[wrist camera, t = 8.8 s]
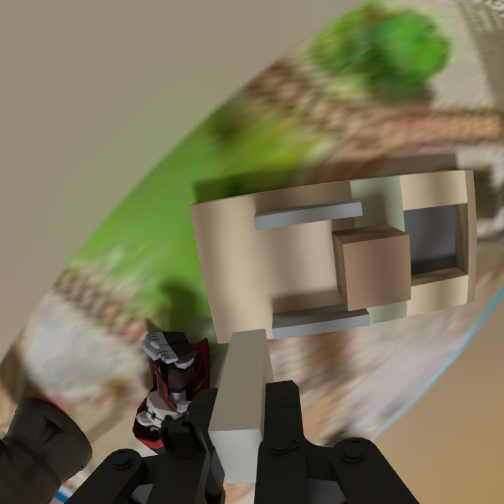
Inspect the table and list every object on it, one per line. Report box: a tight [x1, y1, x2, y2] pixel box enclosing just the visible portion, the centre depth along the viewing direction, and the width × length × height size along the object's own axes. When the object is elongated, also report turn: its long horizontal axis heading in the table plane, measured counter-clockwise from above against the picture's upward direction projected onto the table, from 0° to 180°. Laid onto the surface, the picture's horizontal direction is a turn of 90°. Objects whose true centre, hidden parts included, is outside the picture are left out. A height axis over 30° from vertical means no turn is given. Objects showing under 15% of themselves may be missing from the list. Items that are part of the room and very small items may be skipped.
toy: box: [132, 331, 211, 455], centre depth 30 cm, size 12×9×15 cm
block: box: [331, 224, 411, 311], centre depth 24 cm, size 5×5×5 cm
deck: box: [189, 170, 477, 344], centre depth 27 cm, size 26×13×6 cm, turn 100°
